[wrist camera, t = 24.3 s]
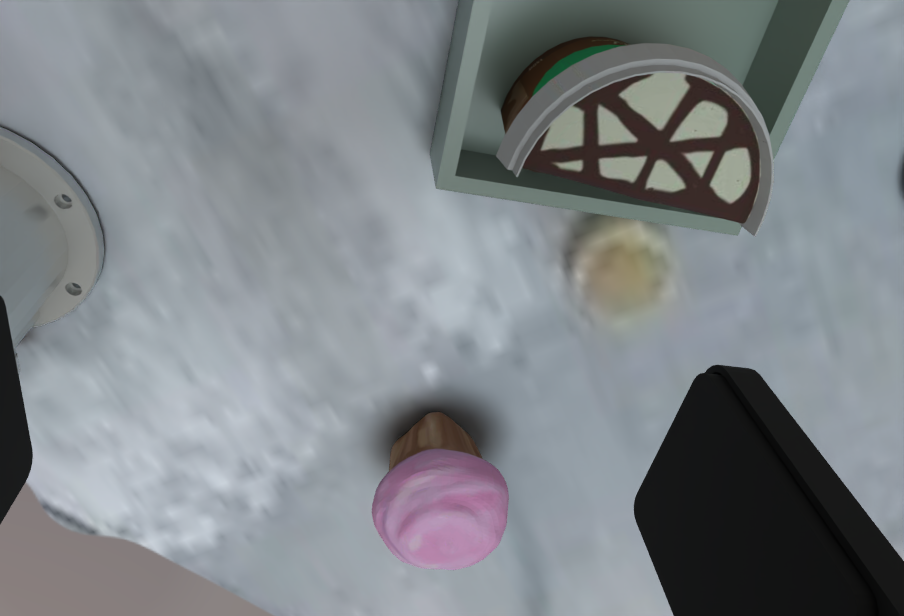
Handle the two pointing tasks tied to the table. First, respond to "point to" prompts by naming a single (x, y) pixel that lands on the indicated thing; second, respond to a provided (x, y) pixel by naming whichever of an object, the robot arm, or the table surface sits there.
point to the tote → (634, 22)
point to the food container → (642, 127)
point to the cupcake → (440, 498)
